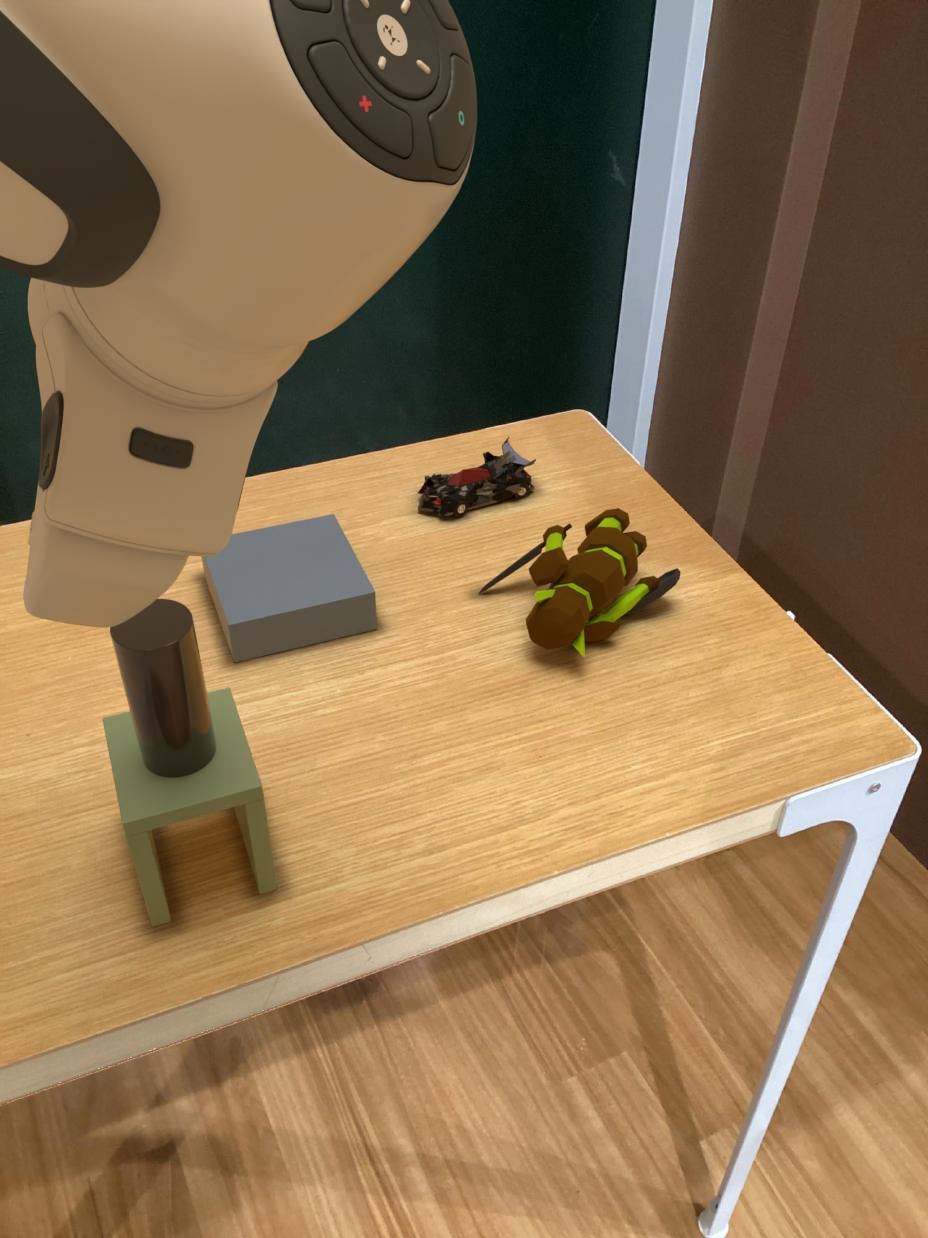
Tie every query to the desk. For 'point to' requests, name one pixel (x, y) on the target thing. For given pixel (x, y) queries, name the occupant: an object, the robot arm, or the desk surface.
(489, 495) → the toy car
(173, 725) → the glossy brown cylinder
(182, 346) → the robot arm
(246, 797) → the sage green stool
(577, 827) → the desk surface
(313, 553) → the low gray rectangular block
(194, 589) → the desk surface
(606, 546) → the goblin
